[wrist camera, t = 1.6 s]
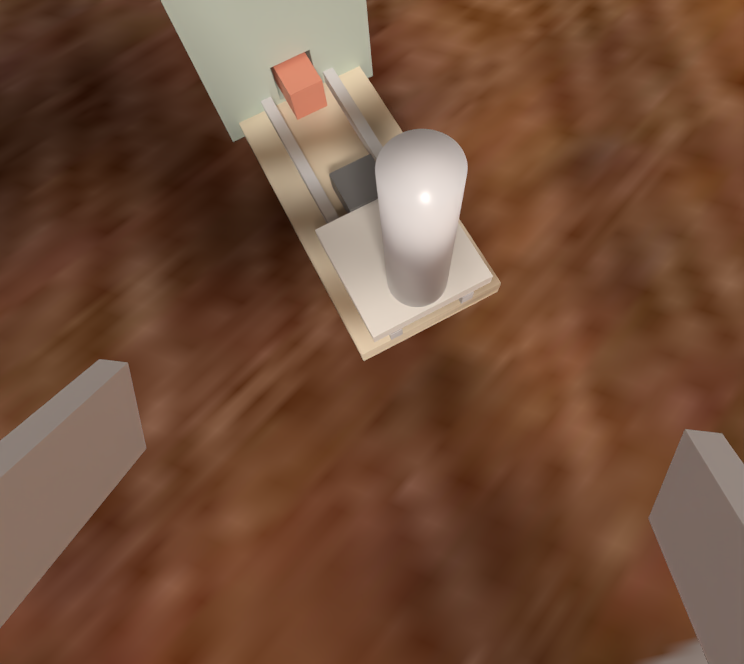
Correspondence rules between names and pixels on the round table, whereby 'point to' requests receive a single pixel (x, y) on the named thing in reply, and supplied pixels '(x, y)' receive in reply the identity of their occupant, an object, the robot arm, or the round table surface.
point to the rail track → (314, 189)
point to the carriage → (403, 231)
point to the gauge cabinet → (266, 46)
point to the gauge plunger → (300, 85)
